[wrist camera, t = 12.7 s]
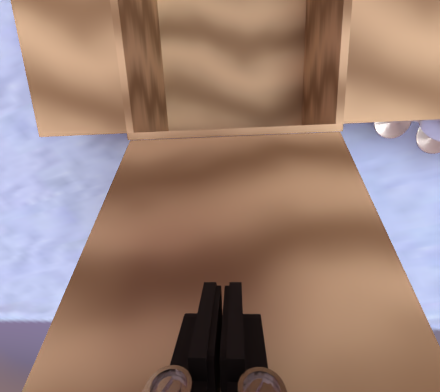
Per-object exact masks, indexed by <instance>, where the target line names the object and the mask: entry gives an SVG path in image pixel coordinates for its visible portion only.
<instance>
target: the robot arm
mask: <svg viewBox="0 0 440 392" xmlns="http://www.w3.org/2000/svg"><path fill="white" fill-rule="evenodd" d="M142 392H287V390H286V387H285V384H284V383H283V381H282V379H281V378H280V377H279V375H278V374H277V373H275V372H274V371H272V370H270V369H268V363H267V356H266V349H265V341H264V334H263V327H262V320H261V314H243V307H242V282H229V286H225V288H224V302H223V315H222V292H221V286H219V285H217V283H216V282H204V285H203V289H202V294H201V299H200V303H199V308H198V312H197V313H185V314H184V317H183V321H182V324H181V328H180V331H179V335H178V338H177V342H176V345H175V349H174V352H173V356H172V359H171V363H170V365H169V366H165V367H162V368H161V369H159V370H157V371H156V372H155V373H154V374H152V375H151V377H150V378H149V380H148V381H147V383H146V385H145V387H144V389H143V391H142Z"/></svg>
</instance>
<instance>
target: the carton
mask: <svg viewBox="0 0 440 392" xmlns="http://www.w3.org/2000/svg"><path fill="white" fill-rule="evenodd" d="M11 4H12V9H13V14H14V19H15V23H16V28H17V33H18V38H19V42H20V47H21V52H22V57H23V61H24V66H25V71H26V76H27V80H28V85H29V90H30V95H31V99H32V104H33V109H34V113H35V118H36V123H37V128H38V132H39V137H49V136H72V135H95V134H117V133H127V138H128V140H144V139H168V138H192V137H216V136H240V135H264V134H288V133H311V132H335V131H343V124H345V123H368V122H391V121H413V120H436V119H440V0H11Z"/></svg>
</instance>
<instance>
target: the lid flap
mask: <svg viewBox="0 0 440 392" xmlns="http://www.w3.org/2000/svg"><path fill="white" fill-rule="evenodd" d="M204 282H216V283H217V285H219V286H221V292H222V315H223V302H224V288H225V286H229V282H242V307H243V314H261V320H262V327H263V334H264V341H265V349H266V356H267V363H268V369H270V370H272V371H274V372H275V373H277V374H278V375H279V377H280V378H281V379H282V381H283V383H284V384H285V387H286V390H287V392H440V346H439V344H438V342H437V340H436V338H435V336H434V333H433V331H432V329H431V327H430V325H429V323H428V320H427V318H426V316H425V314H424V312H423V310H422V308H421V305H420V303H419V301H418V299H417V297H416V295H415V292H414V290H413V288H412V286H411V284H410V282H409V280H408V277H407V275H406V273H405V271H404V269H403V267H402V264H401V262H400V260H399V258H398V256H397V254H396V251H395V249H394V247H393V245H392V243H391V241H390V239H389V236H388V234H387V232H386V230H385V228H384V226H383V223H382V221H381V219H380V217H379V215H378V213H377V211H376V208H375V206H374V204H373V202H372V200H371V198H370V195H369V193H368V191H367V189H366V187H365V185H364V183H363V180H362V178H361V176H360V174H359V172H358V170H357V167H356V165H355V163H354V161H353V159H352V157H351V154H350V152H349V150H348V148H347V146H346V144H345V142H344V139H343V137H342V135H341V133H340V132H324V133H300V134H276V135H251V136H227V137H203V138H179V139H155V140H131V141H130V142H129V145H128V147H127V149H126V152H125V154H124V156H123V159H122V161H121V163H120V166H119V168H118V170H117V172H116V175H115V177H114V179H113V182H112V184H111V186H110V189H109V191H108V193H107V196H106V198H105V200H104V203H103V205H102V207H101V210H100V212H99V214H98V217H97V219H96V221H95V224H94V226H93V228H92V230H91V233H90V235H89V237H88V240H87V242H86V244H85V247H84V249H83V251H82V254H81V256H80V258H79V261H78V263H77V265H76V268H75V270H74V272H73V275H72V277H71V279H70V282H69V284H68V286H67V288H66V291H65V293H64V295H63V298H62V300H61V302H60V305H59V307H58V309H57V312H56V314H55V316H54V319H53V321H52V323H51V326H50V328H49V330H48V333H47V335H46V338H45V340H44V342H43V344H42V346H41V349H40V351H39V353H38V356H37V358H36V360H35V363H34V365H33V367H32V370H31V372H30V374H29V377H28V379H27V381H26V384H25V386H24V388H23V391H22V392H142V391H143V389H144V387H145V385H146V383H147V381H148V380H149V378H150V377H151V375H152V374H154V373H155V372H156V371H157V370H159V369H161V368H162V367H165V366H169V365H170V363H171V359H172V356H173V352H174V349H175V345H176V342H177V338H178V335H179V331H180V328H181V324H182V321H183V317H184V314H185V313H197V312H198V308H199V303H200V299H201V294H202V289H203V285H204Z"/></svg>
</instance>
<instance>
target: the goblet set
mask: <svg viewBox="0 0 440 392" xmlns="http://www.w3.org/2000/svg"><path fill="white" fill-rule="evenodd" d="M412 122H418V123H419V125H420V127H419V129H418V131H417V135H416V141H417V144H418V146H419V148H420V149H421V150H422V151H424V152H426V153H431V154H435V153H440V119H436V120H413V121H412ZM410 124H411V121H391V122H374V127H375V130H376V132H377V133H378V134H379V135H380V136H382V137H384V138H389V139H391V138H396V137H399V136H401V135H402V134H403V133H405V132H406V131H407V129H408V128H409V126H410Z"/></svg>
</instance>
